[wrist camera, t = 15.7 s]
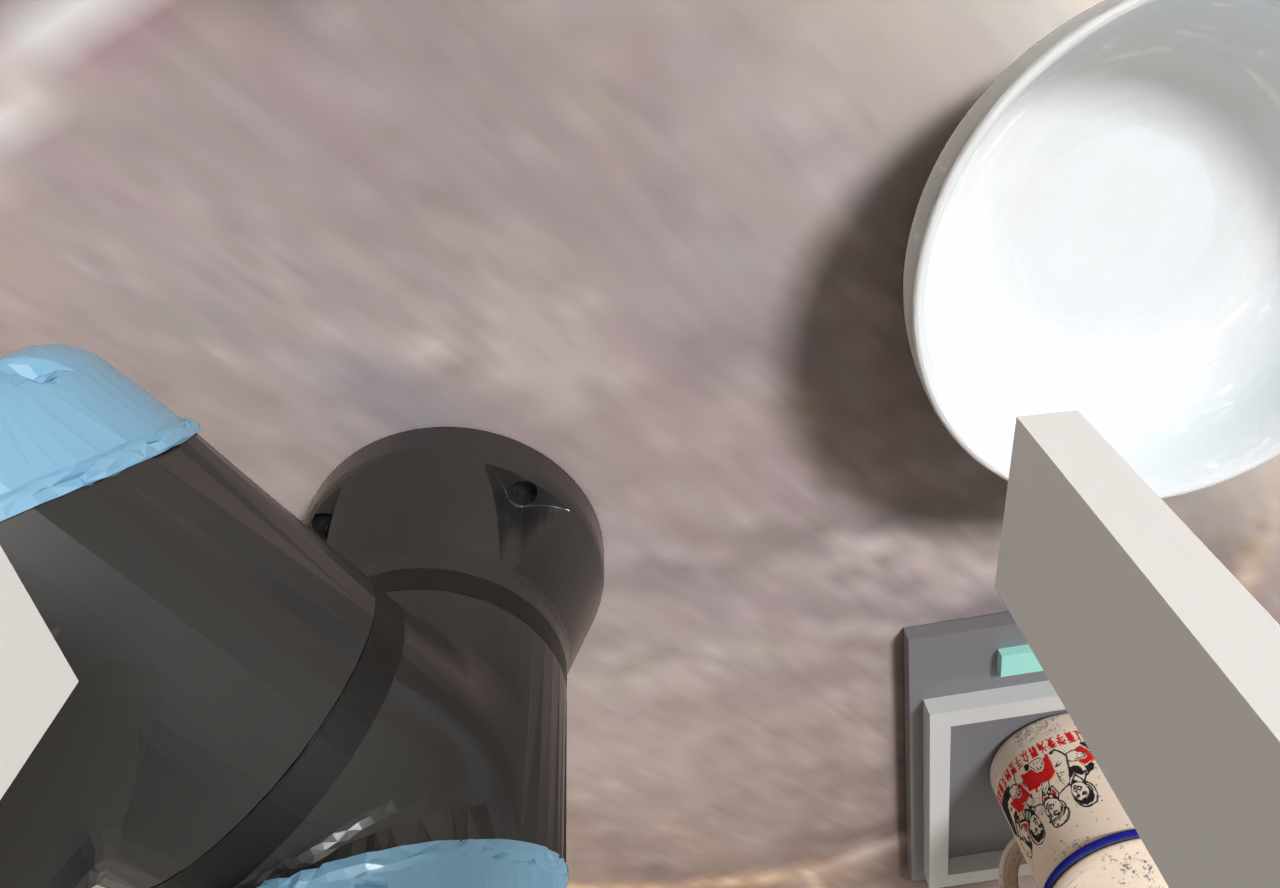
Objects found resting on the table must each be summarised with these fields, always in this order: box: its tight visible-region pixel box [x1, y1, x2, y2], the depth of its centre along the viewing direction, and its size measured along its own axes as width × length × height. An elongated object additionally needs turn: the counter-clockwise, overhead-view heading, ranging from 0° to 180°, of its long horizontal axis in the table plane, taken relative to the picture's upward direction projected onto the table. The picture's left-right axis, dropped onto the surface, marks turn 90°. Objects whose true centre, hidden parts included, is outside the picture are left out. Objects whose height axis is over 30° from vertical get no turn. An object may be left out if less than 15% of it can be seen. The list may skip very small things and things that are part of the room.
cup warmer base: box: [903, 612, 1068, 888], centre depth 56 cm, size 18×22×2 cm
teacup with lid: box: [990, 713, 1169, 888], centre depth 52 cm, size 12×9×12 cm
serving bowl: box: [903, 0, 1280, 499], centre depth 37 cm, size 21×21×7 cm
